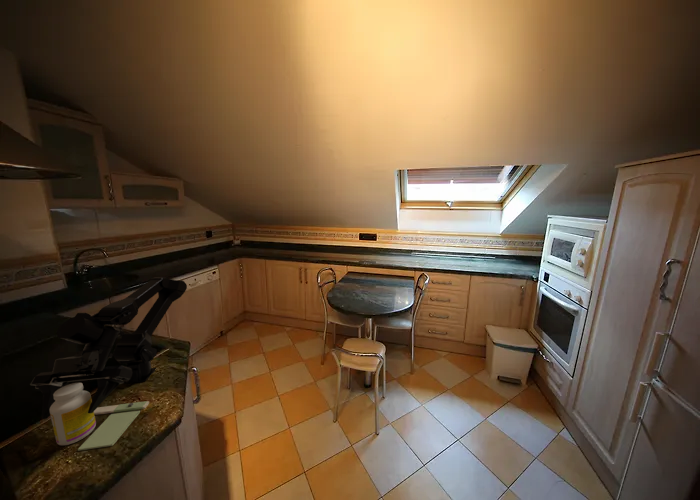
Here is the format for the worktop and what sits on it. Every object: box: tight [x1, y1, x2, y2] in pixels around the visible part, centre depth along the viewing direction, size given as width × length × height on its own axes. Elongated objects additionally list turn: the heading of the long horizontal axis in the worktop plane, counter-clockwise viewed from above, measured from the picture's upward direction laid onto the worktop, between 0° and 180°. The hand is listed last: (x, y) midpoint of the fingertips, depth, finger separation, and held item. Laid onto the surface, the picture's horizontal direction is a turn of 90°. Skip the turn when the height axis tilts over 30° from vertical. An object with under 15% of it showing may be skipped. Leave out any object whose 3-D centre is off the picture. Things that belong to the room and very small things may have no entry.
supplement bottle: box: [50, 382, 97, 446], centre depth 59 cm, size 7×7×13 cm
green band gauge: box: [77, 400, 150, 452], centre depth 62 cm, size 13×16×1 cm
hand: (67, 415), depth 58 cm, fingers open, 9 cm apart
